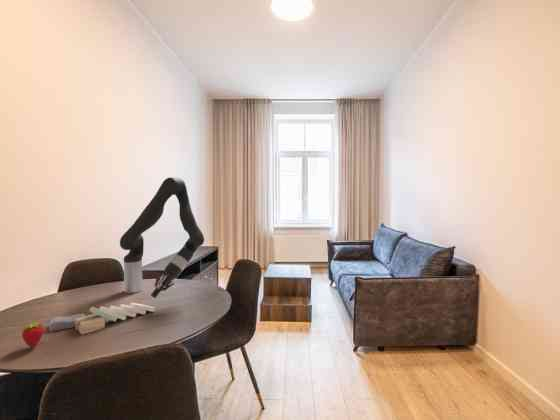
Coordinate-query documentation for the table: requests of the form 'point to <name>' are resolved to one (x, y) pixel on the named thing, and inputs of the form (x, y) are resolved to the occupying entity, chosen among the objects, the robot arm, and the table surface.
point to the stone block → (64, 322)
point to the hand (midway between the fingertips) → (152, 296)
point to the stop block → (89, 323)
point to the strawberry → (32, 334)
